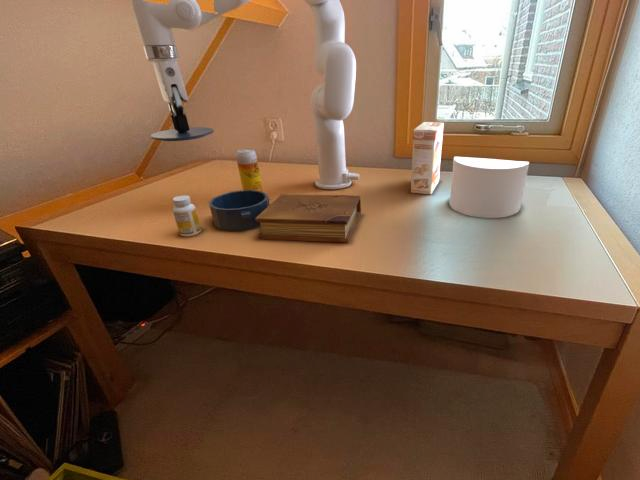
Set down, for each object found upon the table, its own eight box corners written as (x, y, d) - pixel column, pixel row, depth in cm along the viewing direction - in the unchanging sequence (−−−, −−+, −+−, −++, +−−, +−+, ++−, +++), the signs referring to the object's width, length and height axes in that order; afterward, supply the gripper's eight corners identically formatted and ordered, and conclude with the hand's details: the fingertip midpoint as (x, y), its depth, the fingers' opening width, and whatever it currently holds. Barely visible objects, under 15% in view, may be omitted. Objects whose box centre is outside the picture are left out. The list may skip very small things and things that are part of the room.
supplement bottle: (186, 238, 94) (175, 203, 89) (176, 233, 97) (165, 198, 92) (205, 231, 98) (196, 197, 93) (195, 226, 101) (185, 193, 96)
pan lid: (211, 129, 114) (206, 107, 110) (217, 138, 101) (212, 114, 98) (152, 134, 108) (145, 112, 104) (151, 145, 95) (143, 120, 92)
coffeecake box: (431, 194, 117) (436, 130, 107) (409, 192, 120) (412, 129, 109) (440, 181, 129) (444, 121, 119) (420, 179, 131) (423, 121, 121)
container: (522, 197, 112) (532, 153, 106) (516, 222, 97) (526, 171, 90) (457, 190, 120) (461, 148, 113) (441, 212, 105) (445, 165, 98)
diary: (361, 214, 105) (360, 194, 102) (348, 243, 89) (346, 221, 86) (284, 211, 109) (282, 192, 106) (259, 238, 93) (255, 217, 90)
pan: (262, 203, 115) (259, 184, 112) (279, 227, 99) (276, 206, 96) (210, 212, 110) (205, 193, 107) (219, 239, 93) (213, 217, 90)
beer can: (258, 201, 117) (249, 153, 109) (241, 200, 118) (231, 152, 110) (266, 195, 122) (258, 148, 114) (249, 194, 123) (240, 148, 115)
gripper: (184, 53, 90) (203, 132, 99) (171, 54, 101) (189, 125, 111) (150, 54, 86) (173, 136, 96) (141, 55, 98) (162, 128, 107)
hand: (182, 129), depth 103 cm, fingers closed on pan lid, 2 cm apart
